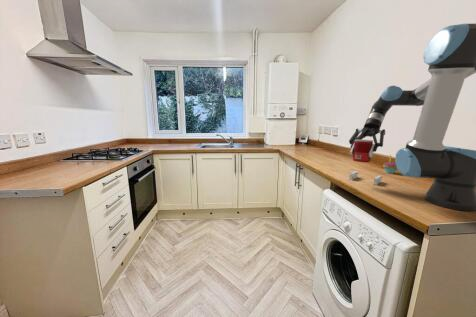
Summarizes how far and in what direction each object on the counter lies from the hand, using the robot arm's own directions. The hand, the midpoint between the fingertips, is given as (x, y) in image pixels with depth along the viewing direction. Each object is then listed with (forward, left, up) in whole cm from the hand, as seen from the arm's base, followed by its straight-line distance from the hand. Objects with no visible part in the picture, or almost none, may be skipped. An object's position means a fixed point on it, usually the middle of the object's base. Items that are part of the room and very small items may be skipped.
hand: (360, 154), depth 103 cm
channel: (+8, -10, -16) cm, 20 cm away
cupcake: (+26, -39, -16) cm, 50 cm away
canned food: (+2, -2, -4) cm, 5 cm away
